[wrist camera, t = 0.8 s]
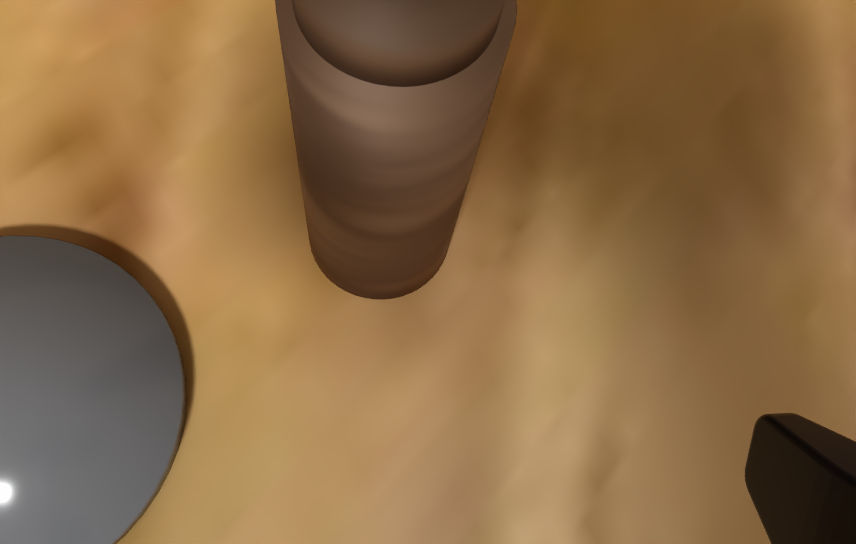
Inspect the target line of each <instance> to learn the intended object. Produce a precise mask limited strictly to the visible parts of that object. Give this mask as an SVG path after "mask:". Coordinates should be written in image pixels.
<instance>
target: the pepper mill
mask: <svg viewBox="0 0 856 544" xmlns="http://www.w3.org/2000/svg"><path fill="white" fill-rule="evenodd" d="M275 3H276V13H277V20H278V27H279V34H280V41H281V48H282V55H283V61H284V68H285V75H286V82H287V89H288V96H289V103H290V110H291V117H292V124H293V131H294V138H295V145H296V151H297V158H298V165H299V172H300V179H301V186H302V193H303V200H304V207H305V214H306V221H307V228H308V235H309V241H310V246H311V251H312V254H313V256H314V259H315V261H316V263H317V264H318V266H319V268H320V269H321V271H322V272H323V273H324V274H325V276H326V277H327V278H328V279H329V280H330V281H332V282H333V283H334V284H335V285H337V286H338V287H340V288H341V289H343V290H345V291H347V292H349V293H351V294H354V295H356V296H360V297H364V298H370V299H391V298H396V297H401V296H404V295H407V294H409V293H412V292H413V291H415V290H417V289H419V288H420V287H422V286H423V285H425V284H426V283H427V282H428V281H429V280H430V279H431V278H433V276H434V275H435V274H436V273H437V271H438V270H439V268H440V267H441V265H442V263H443V261H444V259H445V257H446V254H447V250H448V247H449V244H450V240H451V237H452V234H453V230H454V227H455V224H456V221H457V217H458V214H459V211H460V207H461V204H462V201H463V197H464V194H465V191H466V187H467V184H468V181H469V177H470V174H471V171H472V167H473V164H474V161H475V157H476V154H477V151H478V147H479V144H480V141H481V137H482V134H483V131H484V128H485V124H486V121H487V118H488V114H489V111H490V108H491V104H492V101H493V98H494V94H495V91H496V88H497V84H498V81H499V78H500V74H501V71H502V68H503V64H504V61H505V58H506V54H507V51H508V48H509V44H510V41H511V38H512V34H513V31H514V27H515V23H516V14H517V4H516V0H275Z"/></svg>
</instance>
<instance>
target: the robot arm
mask: <svg viewBox="0 0 856 544" xmlns="http://www.w3.org/2000/svg"><path fill="white" fill-rule="evenodd" d="M745 481H746V485H747V489H748V492H749V494H750V496H751V498H752V501H753V503H754V505H755V508H756V510H757V512H758V514H759V517H760V519H761V521H762V524H763V526H764V528H765V530H766V533H767V535H768V537H769V540H770V542H771V544H856V442H855V441H853V440H851V439H849V438H847V437H844V436H842V435H840V434H838V433H836V432H834V431H832V430H829V429H827V428H825V427H823V426H821V425H819V424H816V423H814V422H812V421H810V420H808V419H806V418H804V417H801V416H799V415H797V414H793V413H781V414H765V415H762V416H761V417H759V418H758V420H757V421H756V423H755V426H754V431H753V435H752V440H751V444H750V449H749V453H748V458H747V462H746V467H745Z"/></svg>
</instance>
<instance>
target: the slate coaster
mask: <svg viewBox="0 0 856 544" xmlns="http://www.w3.org/2000/svg"><path fill="white" fill-rule="evenodd" d="M185 408H186V378H185V372H184V367H183V361H182V356H181V353H180V350H179V347H178V343H177V340H176V337H175V335H174V333H173V331H172V329H171V327H170V325H169V323H168V321H167V319H166V317H165V315H164V314H163V313H162V311H161V310H160V308H159V307H158V305H157V304H156V303H155V301H154V300H153V298H152V297H151V296H150V295H149V293H148V292H147V291H146V290H145V289H144V288H143V287H142V286H141V285H140V284H139V283H138V282H137V281H136V280H135V278H133V277H132V276H131V275H130V274H128V273H127V272H126V271H125V270H123V269H122V268H121V267H120V266H118V265H117V264H115V263H113V262H112V261H110V260H108V259H107V258H105V257H103V256H102V255H100V254H98V253H96V252H93V251H91V250H88V249H86V248H84V247H81V246H79V245H75V244H72V243H68V242H64V241H61V240H57V239H50V238H43V237H36V236H3V237H0V544H116V543H117V542H119V541H120V540H121V539H122V538H123V537H124V536H125V535H126V534H127V533H128V532H129V531H130V529H131V528H132V527H133V526H134V525H135V524H136V522H137V521H138V520H139V519H140V518H141V517H142V516H143V514H144V513H145V511H146V510H147V508H148V507H149V505H150V504H151V503H152V501H153V500H154V498H155V497H156V495H157V494H158V492H159V490H160V488H161V486H162V484H163V482H164V480H165V479H166V477H167V475H168V473H169V471H170V468H171V466H172V463H173V460H174V458H175V455H176V452H177V450H178V447H179V443H180V438H181V434H182V430H183V426H184V418H185Z"/></svg>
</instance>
